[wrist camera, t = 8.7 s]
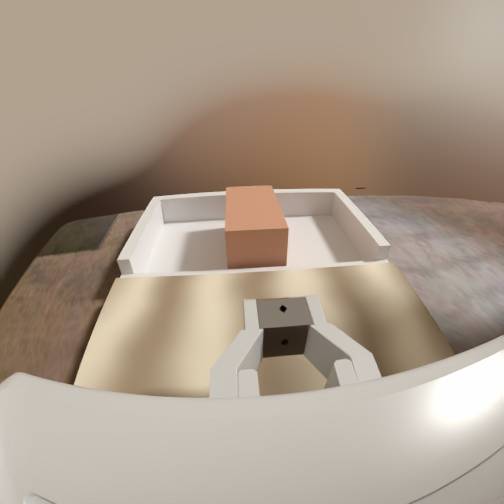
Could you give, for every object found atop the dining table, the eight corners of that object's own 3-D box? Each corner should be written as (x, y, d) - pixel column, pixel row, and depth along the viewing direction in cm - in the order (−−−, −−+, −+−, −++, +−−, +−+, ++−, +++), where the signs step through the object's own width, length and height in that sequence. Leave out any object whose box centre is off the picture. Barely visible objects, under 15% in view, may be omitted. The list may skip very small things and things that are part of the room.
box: (336, 216, 37) (339, 188, 35) (385, 287, 24) (396, 252, 22) (158, 224, 35) (153, 196, 33) (125, 304, 23) (112, 268, 21)
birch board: (385, 287, 24) (393, 262, 22) (449, 407, 13) (472, 385, 11) (125, 304, 23) (116, 277, 21) (86, 443, 12) (62, 425, 10)
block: (285, 278, 25) (270, 225, 33) (288, 228, 22) (271, 185, 30) (228, 281, 24) (228, 227, 33) (224, 231, 22) (226, 187, 30)
